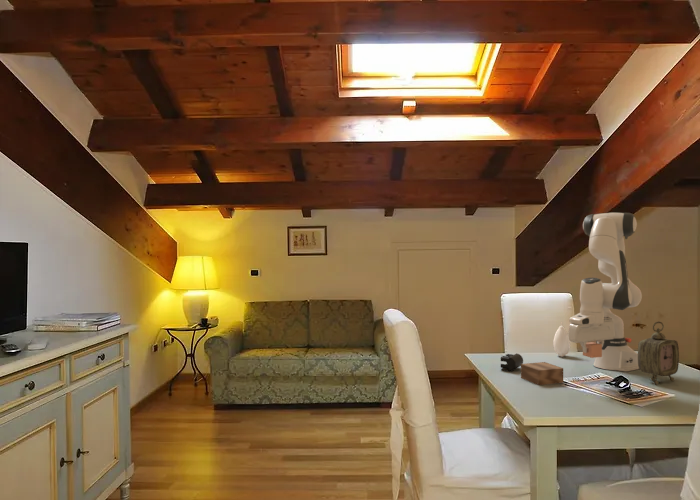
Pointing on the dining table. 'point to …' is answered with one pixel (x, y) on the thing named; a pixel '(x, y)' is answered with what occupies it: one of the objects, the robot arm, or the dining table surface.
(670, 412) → the dining table surface
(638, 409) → the dining table surface
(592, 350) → the terracotta block
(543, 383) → the walnut block
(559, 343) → the white teardrop ornament
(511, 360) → the end cap
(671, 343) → the tabletop clock
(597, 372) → the dining table surface
